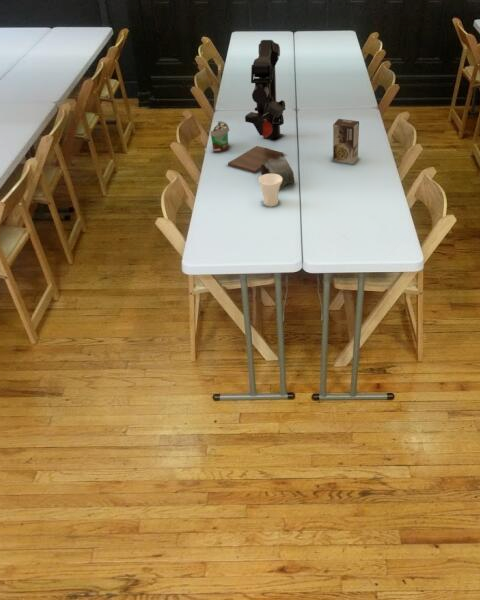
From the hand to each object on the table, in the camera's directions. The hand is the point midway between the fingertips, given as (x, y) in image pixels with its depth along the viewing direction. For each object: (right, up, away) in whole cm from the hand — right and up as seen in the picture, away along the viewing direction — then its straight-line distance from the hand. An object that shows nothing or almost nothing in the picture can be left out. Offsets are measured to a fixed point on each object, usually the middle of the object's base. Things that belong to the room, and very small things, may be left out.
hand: (265, 132), depth 255 cm
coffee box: (+33, -10, +5) cm, 35 cm away
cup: (+3, -32, -23) cm, 39 cm away
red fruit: (0, -2, +1) cm, 2 cm away
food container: (-19, -2, +18) cm, 26 cm away
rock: (+5, -22, -9) cm, 24 cm away
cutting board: (-4, -10, +7) cm, 13 cm away
